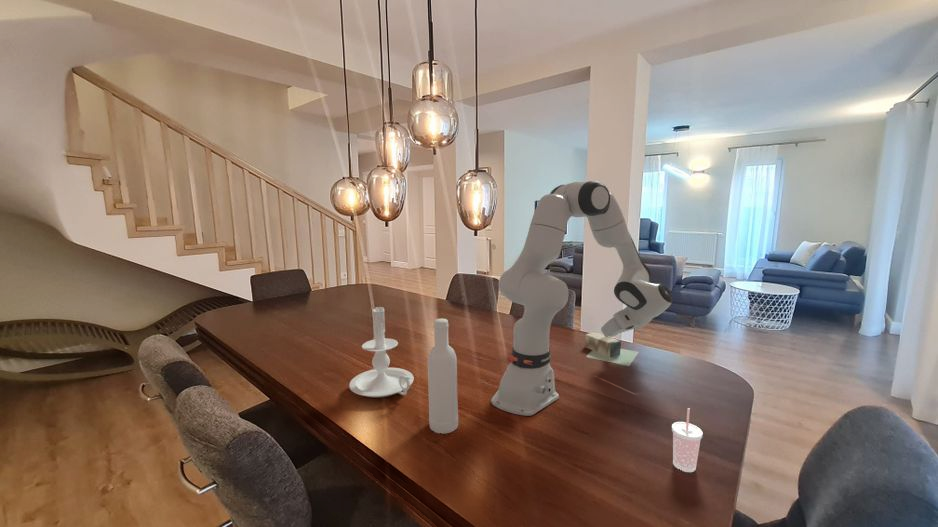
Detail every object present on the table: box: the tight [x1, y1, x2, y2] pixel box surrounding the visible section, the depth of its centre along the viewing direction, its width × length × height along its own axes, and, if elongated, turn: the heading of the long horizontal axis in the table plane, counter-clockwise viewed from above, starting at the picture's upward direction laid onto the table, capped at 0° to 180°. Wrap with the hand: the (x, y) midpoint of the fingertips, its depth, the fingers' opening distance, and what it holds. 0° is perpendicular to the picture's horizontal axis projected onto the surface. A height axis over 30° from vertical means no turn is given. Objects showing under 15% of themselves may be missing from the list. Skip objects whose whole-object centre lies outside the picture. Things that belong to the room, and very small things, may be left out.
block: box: [584, 331, 622, 357], centre depth 156 cm, size 6×6×13 cm
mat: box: [585, 348, 639, 367], centre depth 152 cm, size 16×16×1 cm
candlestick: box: [348, 306, 415, 398], centre depth 124 cm, size 21×25×28 cm
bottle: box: [426, 318, 459, 435], centre depth 103 cm, size 8×8×30 cm
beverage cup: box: [671, 407, 704, 473], centre depth 87 cm, size 6×6×14 cm
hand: (611, 334), depth 151 cm, fingers closed
